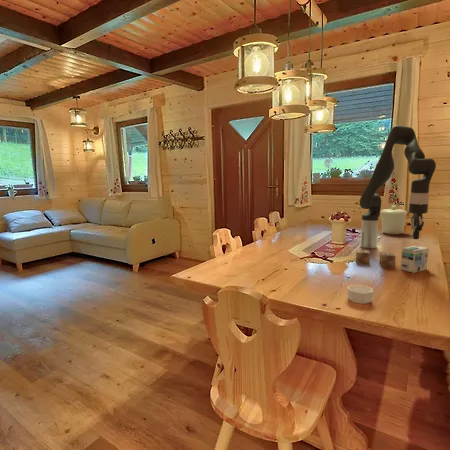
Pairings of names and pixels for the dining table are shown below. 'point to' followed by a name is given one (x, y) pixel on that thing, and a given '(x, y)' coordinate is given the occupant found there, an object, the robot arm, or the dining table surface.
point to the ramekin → (360, 294)
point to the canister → (393, 220)
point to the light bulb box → (414, 258)
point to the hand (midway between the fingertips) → (415, 238)
